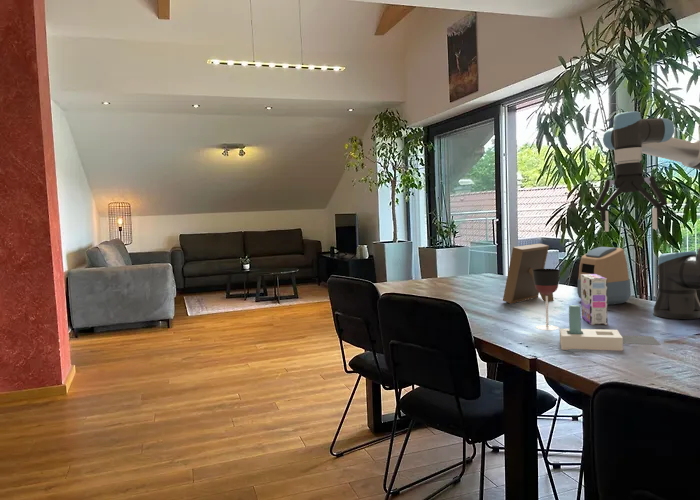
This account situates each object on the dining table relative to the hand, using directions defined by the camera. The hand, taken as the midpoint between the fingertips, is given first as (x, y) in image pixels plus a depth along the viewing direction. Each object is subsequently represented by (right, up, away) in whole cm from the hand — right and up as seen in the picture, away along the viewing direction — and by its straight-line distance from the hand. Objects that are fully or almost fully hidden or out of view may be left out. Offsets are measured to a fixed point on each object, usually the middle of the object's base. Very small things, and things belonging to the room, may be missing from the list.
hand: (630, 230), depth 165 cm
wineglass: (-21, -33, +15) cm, 42 cm away
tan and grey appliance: (+19, -29, +56) cm, 66 cm away
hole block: (-18, -35, -11) cm, 41 cm away
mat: (-2, -34, -8) cm, 35 cm away
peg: (-22, -35, -10) cm, 42 cm away
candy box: (-2, -32, +21) cm, 39 cm away
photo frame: (-8, -29, +67) cm, 73 cm away
